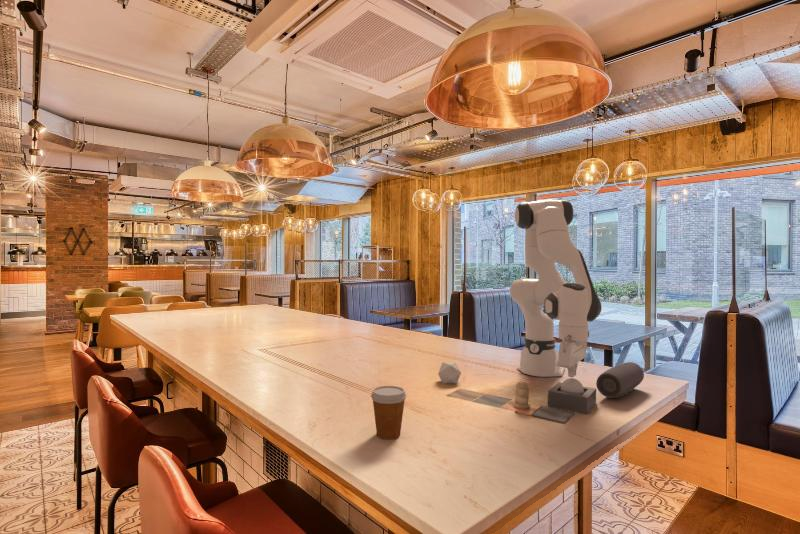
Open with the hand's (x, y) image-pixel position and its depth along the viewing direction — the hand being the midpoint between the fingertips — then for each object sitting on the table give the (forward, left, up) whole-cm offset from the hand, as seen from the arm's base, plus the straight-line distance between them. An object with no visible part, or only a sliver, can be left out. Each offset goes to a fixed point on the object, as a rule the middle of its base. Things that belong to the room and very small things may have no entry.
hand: (572, 376), depth 143 cm
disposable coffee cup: (+55, -33, -10) cm, 65 cm away
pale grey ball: (0, 0, -8) cm, 8 cm away
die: (+3, -44, -10) cm, 45 cm away
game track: (+13, -17, -9) cm, 23 cm away
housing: (0, 0, -9) cm, 9 cm away
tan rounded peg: (+12, -12, -9) cm, 19 cm away
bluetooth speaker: (-23, +11, -10) cm, 27 cm away
